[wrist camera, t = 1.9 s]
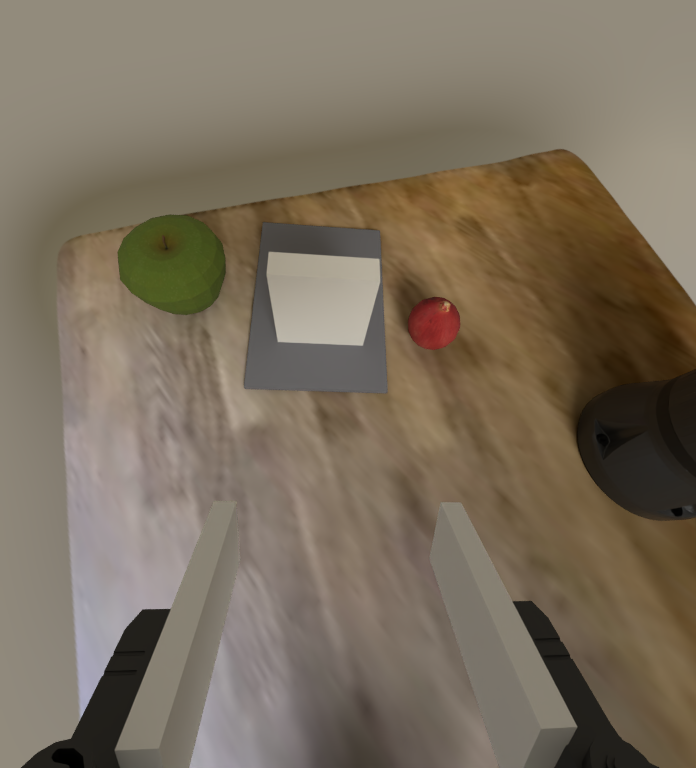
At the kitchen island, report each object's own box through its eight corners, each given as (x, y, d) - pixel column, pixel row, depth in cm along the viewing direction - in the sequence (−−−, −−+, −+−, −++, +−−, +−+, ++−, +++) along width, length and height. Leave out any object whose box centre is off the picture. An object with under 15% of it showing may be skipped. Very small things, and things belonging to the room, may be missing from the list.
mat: (386, 393, 42) (387, 391, 42) (244, 388, 41) (243, 386, 40) (379, 233, 52) (379, 230, 51) (263, 225, 50) (262, 222, 50)
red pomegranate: (394, 325, 46) (410, 285, 39) (435, 315, 47) (458, 274, 40) (412, 366, 44) (433, 331, 37) (454, 353, 45) (482, 318, 38)
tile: (362, 345, 44) (380, 281, 33) (277, 342, 43) (266, 274, 32) (362, 325, 45) (379, 256, 34) (279, 321, 44) (268, 249, 33)
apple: (205, 248, 48) (180, 180, 39) (254, 302, 45) (239, 242, 36) (127, 291, 44) (79, 226, 35) (175, 351, 42) (138, 299, 33)
